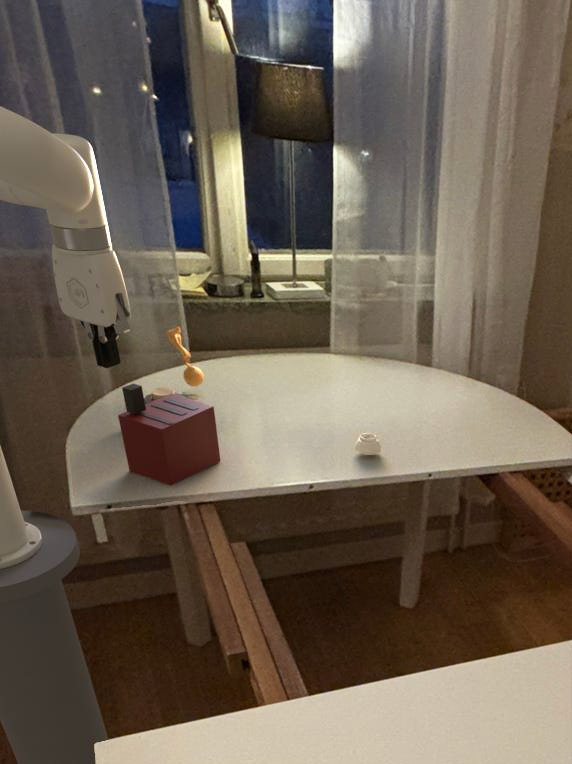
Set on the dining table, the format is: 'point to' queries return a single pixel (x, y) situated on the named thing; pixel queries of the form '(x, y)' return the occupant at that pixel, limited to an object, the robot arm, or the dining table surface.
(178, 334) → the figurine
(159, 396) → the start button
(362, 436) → the white jar
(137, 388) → the slider
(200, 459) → the toaster
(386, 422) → the dining table surface
